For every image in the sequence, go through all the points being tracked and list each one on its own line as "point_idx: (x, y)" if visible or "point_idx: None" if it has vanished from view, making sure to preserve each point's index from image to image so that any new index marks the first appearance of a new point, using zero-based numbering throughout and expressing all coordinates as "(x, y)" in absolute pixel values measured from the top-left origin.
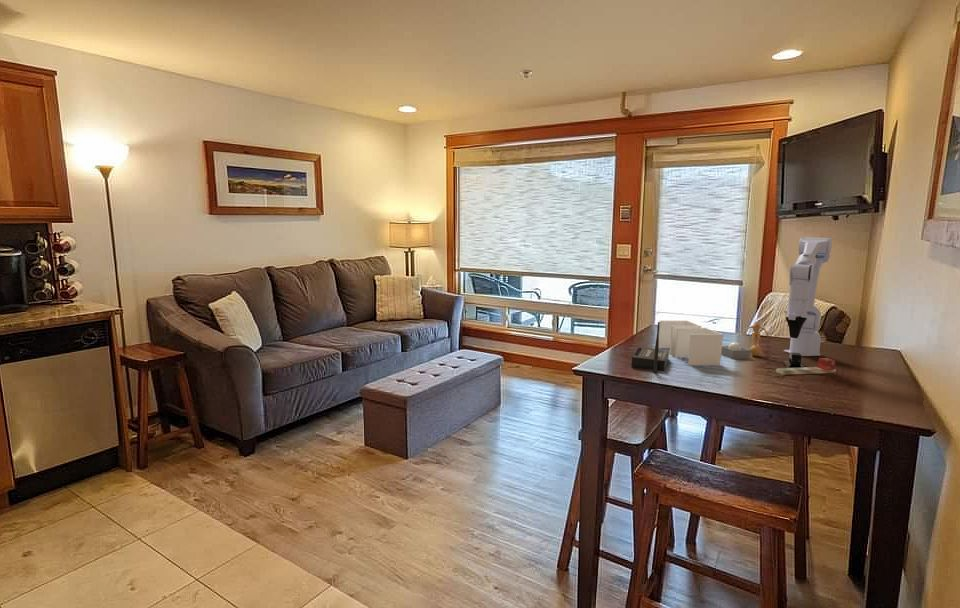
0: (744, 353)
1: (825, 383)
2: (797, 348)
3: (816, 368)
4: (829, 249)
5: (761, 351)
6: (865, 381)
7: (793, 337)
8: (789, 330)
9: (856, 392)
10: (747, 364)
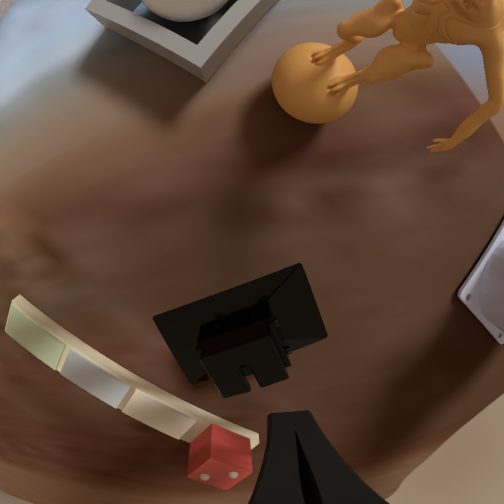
0: (162, 51)
1: (55, 432)
2: (498, 287)
3: (170, 426)
4: None
5: (314, 123)
6: (193, 496)
7: (267, 435)
8: (261, 468)
9: (57, 472)
10: (38, 143)
